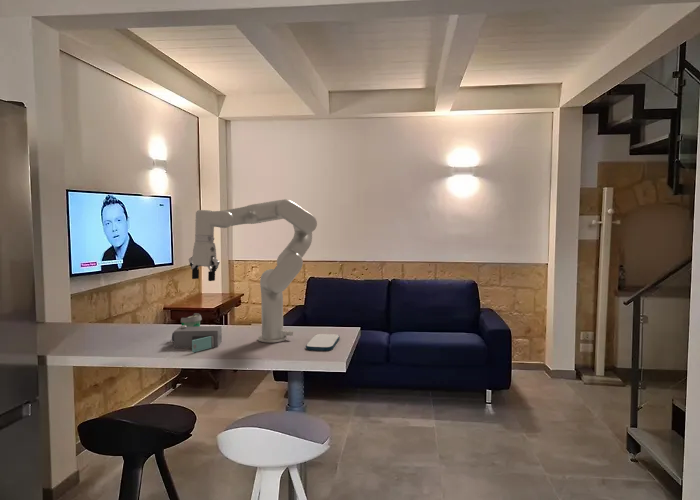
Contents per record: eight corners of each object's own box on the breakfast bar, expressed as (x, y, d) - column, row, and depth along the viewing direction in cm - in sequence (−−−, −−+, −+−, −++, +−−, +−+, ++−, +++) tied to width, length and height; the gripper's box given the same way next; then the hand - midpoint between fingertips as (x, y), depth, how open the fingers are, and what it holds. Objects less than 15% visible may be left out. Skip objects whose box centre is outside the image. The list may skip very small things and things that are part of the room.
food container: (193, 340, 223) (193, 318, 222) (181, 340, 224) (180, 318, 223) (206, 334, 235) (206, 313, 234) (194, 334, 236) (194, 312, 235)
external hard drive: (316, 337, 230) (316, 333, 230) (340, 338, 229) (340, 334, 229) (304, 351, 207) (304, 346, 207) (331, 352, 206) (331, 347, 205)
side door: (212, 347, 211) (212, 335, 211) (214, 347, 210) (214, 336, 210) (192, 352, 203) (191, 340, 202) (194, 353, 202) (194, 340, 202)
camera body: (221, 341, 221) (221, 323, 220) (217, 347, 211) (217, 328, 211) (176, 342, 219) (175, 324, 219) (170, 348, 210) (169, 329, 209)
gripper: (225, 240, 210) (224, 280, 211) (196, 238, 219) (196, 277, 220) (212, 240, 204) (211, 282, 205) (183, 238, 213) (182, 278, 214)
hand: (203, 279), depth 212 cm, fingers open, 9 cm apart
